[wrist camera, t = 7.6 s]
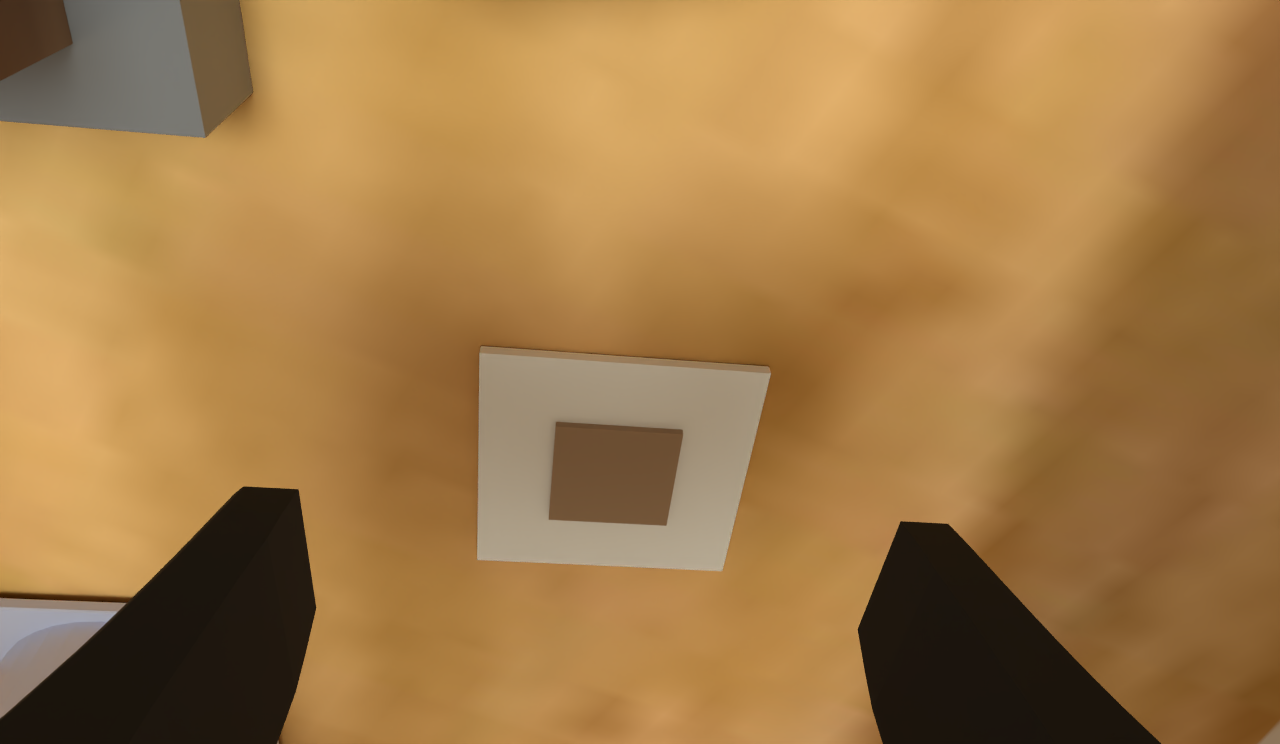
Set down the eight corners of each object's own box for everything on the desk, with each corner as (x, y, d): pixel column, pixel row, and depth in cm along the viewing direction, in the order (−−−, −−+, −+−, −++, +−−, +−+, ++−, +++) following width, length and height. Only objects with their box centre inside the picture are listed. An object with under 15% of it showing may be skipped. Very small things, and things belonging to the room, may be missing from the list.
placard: (720, 563, 25) (723, 576, 25) (478, 551, 24) (476, 565, 24) (769, 366, 21) (772, 378, 21) (481, 346, 20) (478, 357, 20)
